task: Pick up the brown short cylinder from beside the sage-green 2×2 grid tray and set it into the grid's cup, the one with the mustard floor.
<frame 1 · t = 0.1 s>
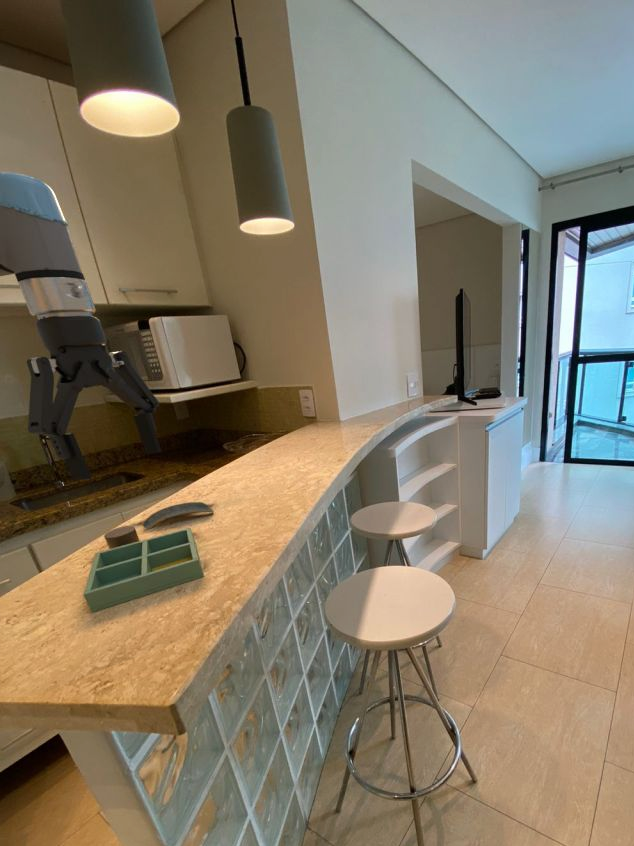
hand: (121, 464, 65), 18 cm above the counter, tool pointing down, fingers open, 13 cm apart
brown short cylinder: (127, 550, 77), on the counter
grid: (150, 572, 68), on the counter
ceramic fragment: (181, 521, 89), on the counter
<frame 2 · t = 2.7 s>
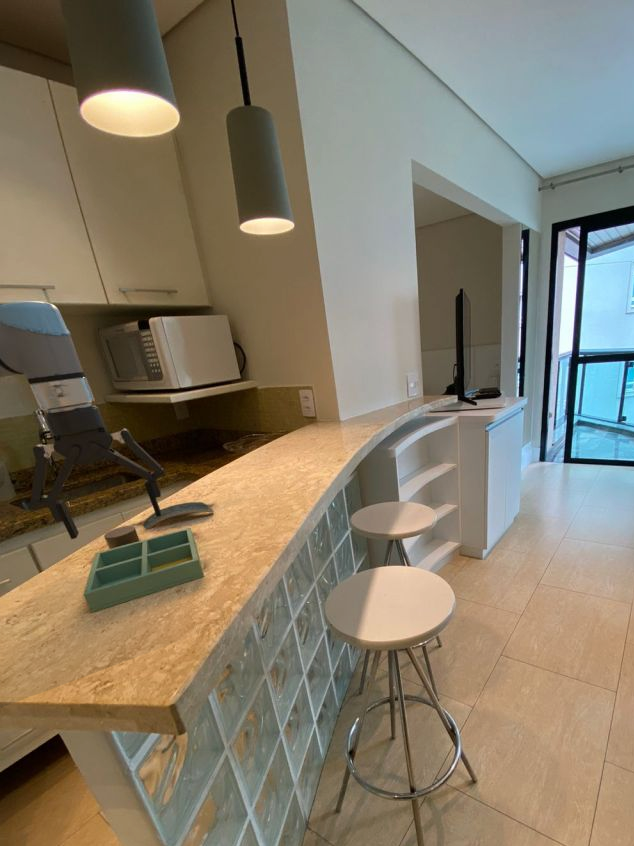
hand: (118, 524, 75), 5 cm above the counter, tool pointing down, fingers open, 13 cm apart
nothing on the counter moved.
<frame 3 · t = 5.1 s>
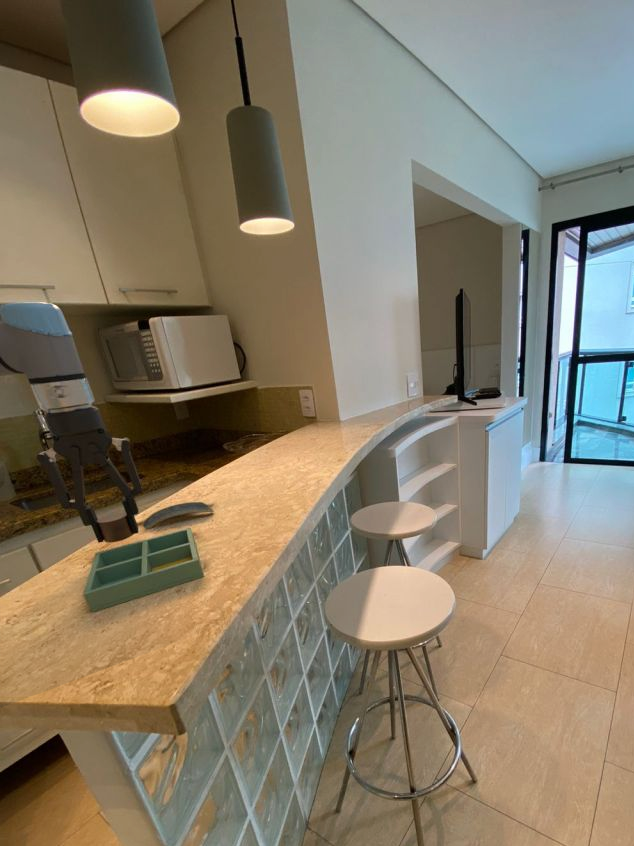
hand: (119, 534, 76), 3 cm above the counter, tool pointing down, fingers closed on brown short cylinder, 5 cm apart
brown short cylinder: (119, 536, 76), point 3 cm above the counter, touching gripper
everything else where it was.
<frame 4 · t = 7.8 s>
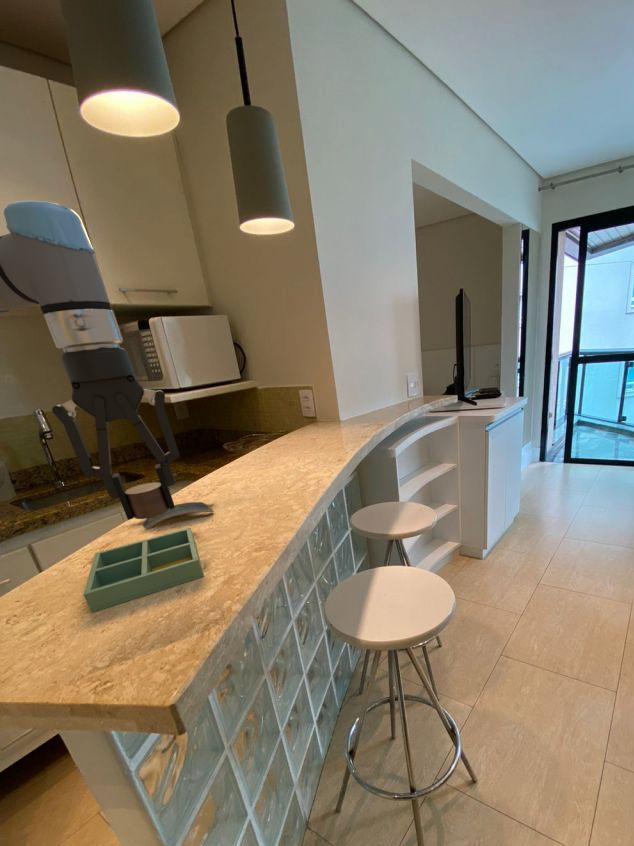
hand: (151, 510, 63), 11 cm above the counter, tool pointing down, fingers closed on brown short cylinder, 5 cm apart
brown short cylinder: (152, 512, 63), point 11 cm above the counter, touching gripper
everything else where it was.
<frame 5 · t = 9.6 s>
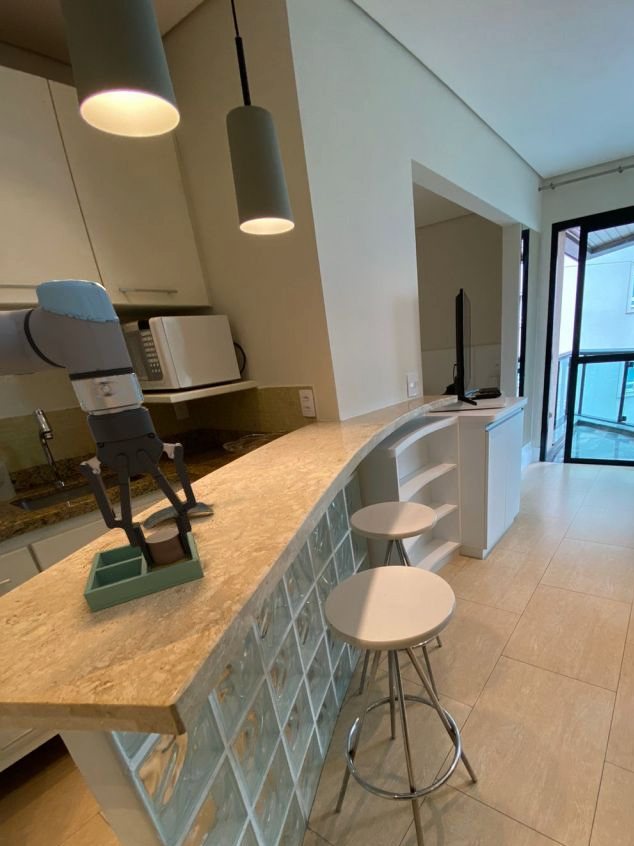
hand: (169, 556, 65), 3 cm above the counter, tool pointing down, fingers closed on brown short cylinder, 5 cm apart
brown short cylinder: (170, 557, 65), point 3 cm above the counter, touching gripper
everything else where it was.
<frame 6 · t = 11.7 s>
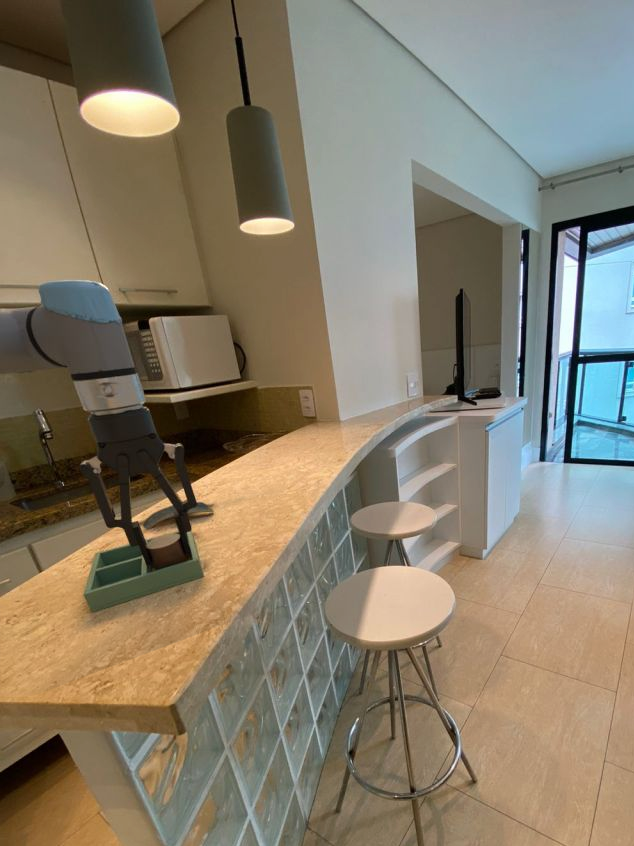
hand: (168, 555, 66), 3 cm above the counter, tool pointing down, fingers closed on brown short cylinder, 5 cm apart
brown short cylinder: (171, 562, 66), point 2 cm above the counter, touching gripper
everything else where it was.
when the fingers open (3 cm above the counter, at t = 11.7 s): brown short cylinder drops 1 cm, resting on grid.
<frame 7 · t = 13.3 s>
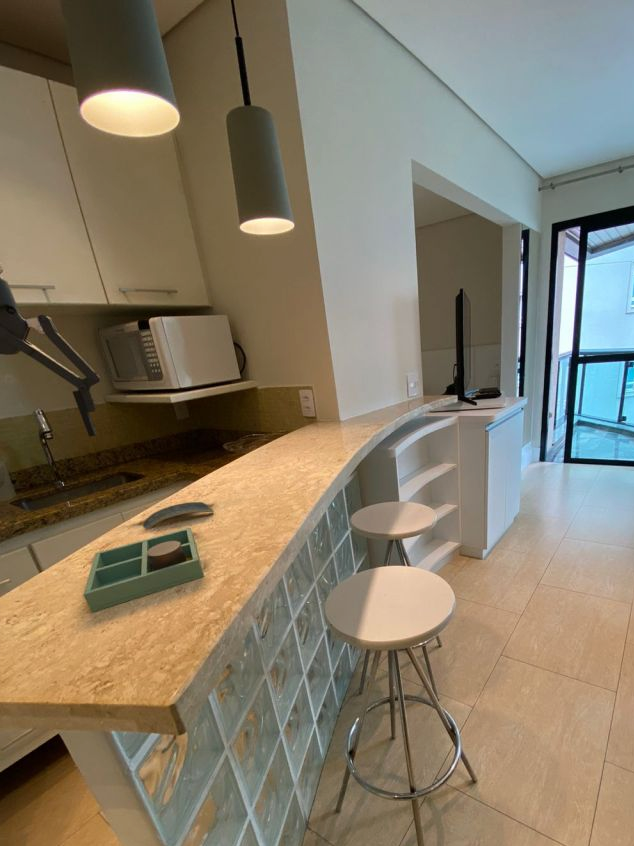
hand: (38, 443, 59), 23 cm above the counter, tool pointing down, fingers open, 13 cm apart
brown short cylinder: (171, 569, 66), point 1 cm above the counter, touching grid
everything else where it was.
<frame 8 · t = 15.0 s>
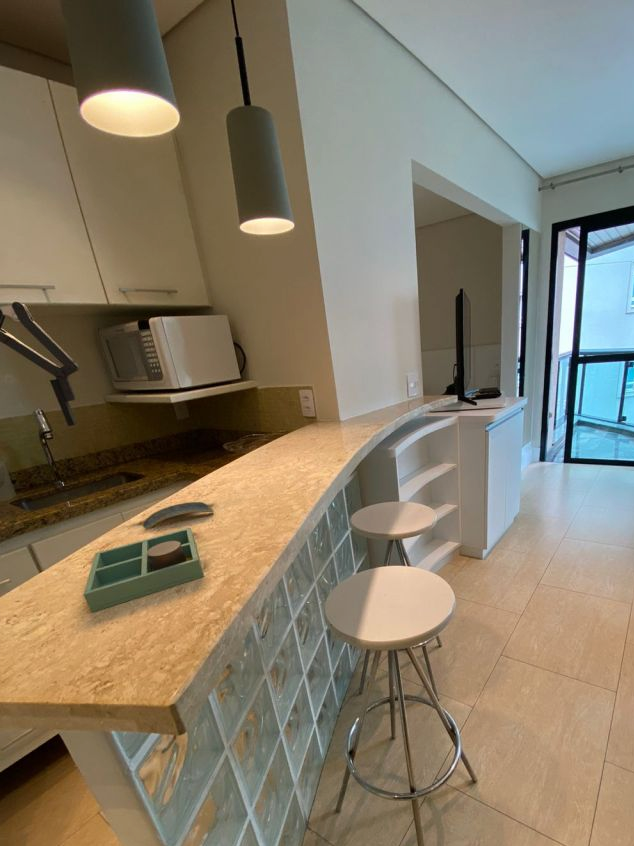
hand: (17, 433, 58), 25 cm above the counter, tool pointing down, fingers open, 13 cm apart
nothing on the counter moved.
at the end: brown short cylinder 0.5 cm from the target spot in the grid, point 0.8 cm above the grid's base; brown short cylinder tilted 0° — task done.
